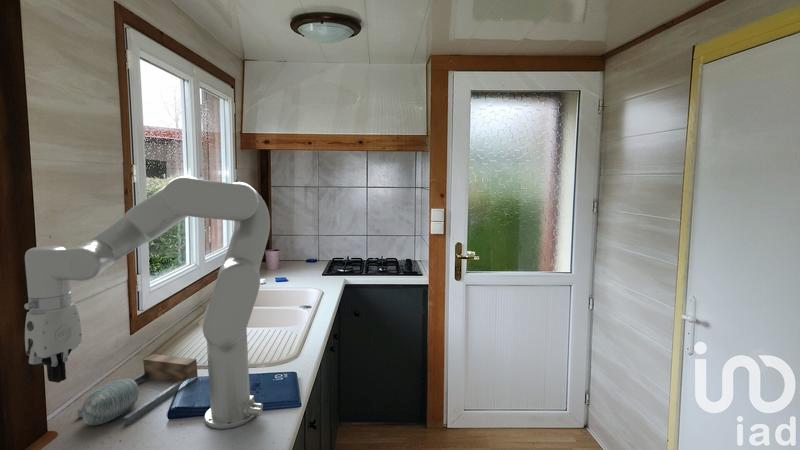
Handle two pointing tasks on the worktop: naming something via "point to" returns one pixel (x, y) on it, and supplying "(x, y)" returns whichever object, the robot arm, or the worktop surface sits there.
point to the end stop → (170, 368)
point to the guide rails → (151, 403)
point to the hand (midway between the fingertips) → (57, 380)
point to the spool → (109, 401)
